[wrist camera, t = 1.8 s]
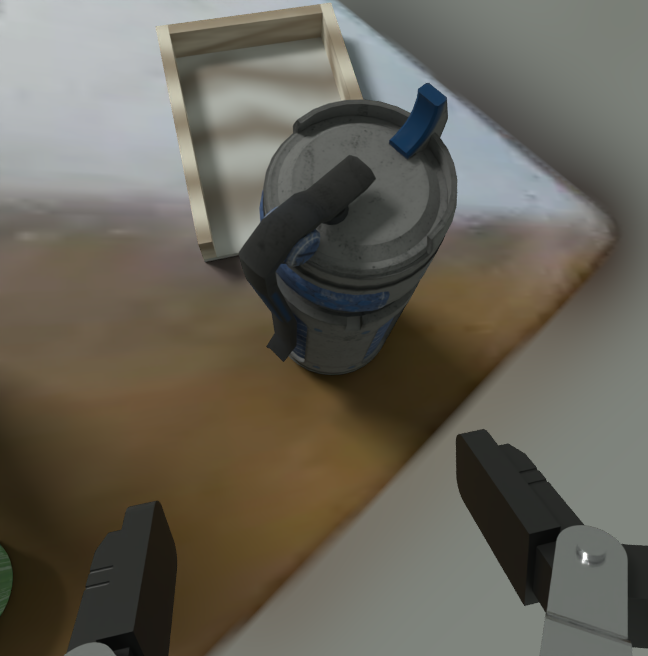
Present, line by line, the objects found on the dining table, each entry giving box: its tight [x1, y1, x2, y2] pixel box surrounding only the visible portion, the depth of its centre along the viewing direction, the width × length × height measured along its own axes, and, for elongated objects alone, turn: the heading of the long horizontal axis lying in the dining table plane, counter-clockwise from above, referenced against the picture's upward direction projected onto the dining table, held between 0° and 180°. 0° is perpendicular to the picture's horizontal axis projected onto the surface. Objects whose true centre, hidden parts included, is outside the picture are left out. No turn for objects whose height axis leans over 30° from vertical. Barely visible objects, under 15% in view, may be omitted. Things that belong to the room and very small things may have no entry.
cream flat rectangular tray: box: [156, 3, 363, 262], centre depth 52 cm, size 25×18×4 cm
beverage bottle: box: [239, 83, 457, 375], centre depth 35 cm, size 10×13×25 cm
